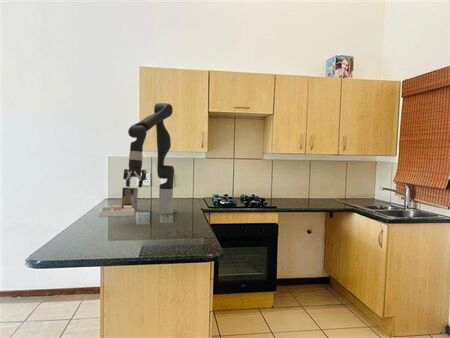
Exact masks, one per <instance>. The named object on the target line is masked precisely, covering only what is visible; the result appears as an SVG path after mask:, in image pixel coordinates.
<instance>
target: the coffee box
mask: <svg viewBox="0 0 450 338" xmlns="http://www.w3.org/2000/svg"><path fill="white" fill-rule="evenodd" d="M121 189H122V192H121V193H122V195H121V197H122V199H121V206H122V209H123V206H132V209H134V212H135V211H137V210H138V197H139V195H138V194H139V193H138V191H139V187H122V188H121Z"/></svg>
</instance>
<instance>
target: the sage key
mask: <svg viewBox="0 0 450 338" xmlns="http://www.w3.org/2000/svg"><path fill="white" fill-rule="evenodd" d="M101 209H102V211H111V209H112V205H102V207H101Z"/></svg>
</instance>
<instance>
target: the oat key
mask: <svg viewBox="0 0 450 338" xmlns="http://www.w3.org/2000/svg"><path fill="white" fill-rule="evenodd" d="M123 210H132V206H123Z"/></svg>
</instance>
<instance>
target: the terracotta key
mask: <svg viewBox="0 0 450 338" xmlns="http://www.w3.org/2000/svg"><path fill="white" fill-rule="evenodd" d="M112 209H113V211H121V210H122V205H113V206H112Z"/></svg>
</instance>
